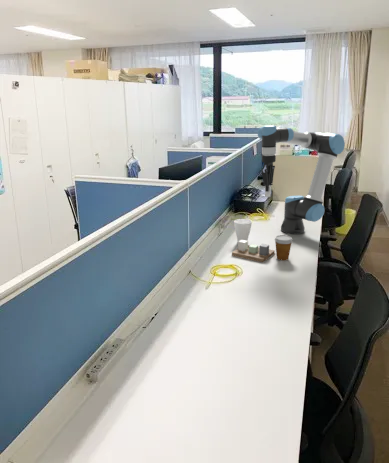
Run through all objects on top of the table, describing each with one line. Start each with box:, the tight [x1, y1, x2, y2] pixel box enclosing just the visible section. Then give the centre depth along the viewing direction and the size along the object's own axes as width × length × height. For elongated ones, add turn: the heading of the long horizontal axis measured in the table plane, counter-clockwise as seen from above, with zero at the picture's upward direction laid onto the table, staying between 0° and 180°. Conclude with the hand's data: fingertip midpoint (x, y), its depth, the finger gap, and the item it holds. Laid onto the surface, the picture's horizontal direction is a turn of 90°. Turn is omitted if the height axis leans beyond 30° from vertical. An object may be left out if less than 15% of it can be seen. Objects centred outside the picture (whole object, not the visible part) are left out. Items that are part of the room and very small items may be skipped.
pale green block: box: [249, 243, 259, 254], centre depth 229 cm, size 4×4×5 cm
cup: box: [233, 218, 253, 244], centre depth 247 cm, size 10×10×14 cm
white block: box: [237, 240, 249, 251], centre depth 232 cm, size 4×4×5 cm
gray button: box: [258, 243, 270, 256], centre depth 225 cm, size 4×4×5 cm
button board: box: [231, 244, 276, 263], centre depth 229 cm, size 15×19×2 cm
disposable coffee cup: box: [274, 234, 293, 261], centre depth 222 cm, size 10×10×12 cm
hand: (267, 196), depth 232 cm, fingers closed
